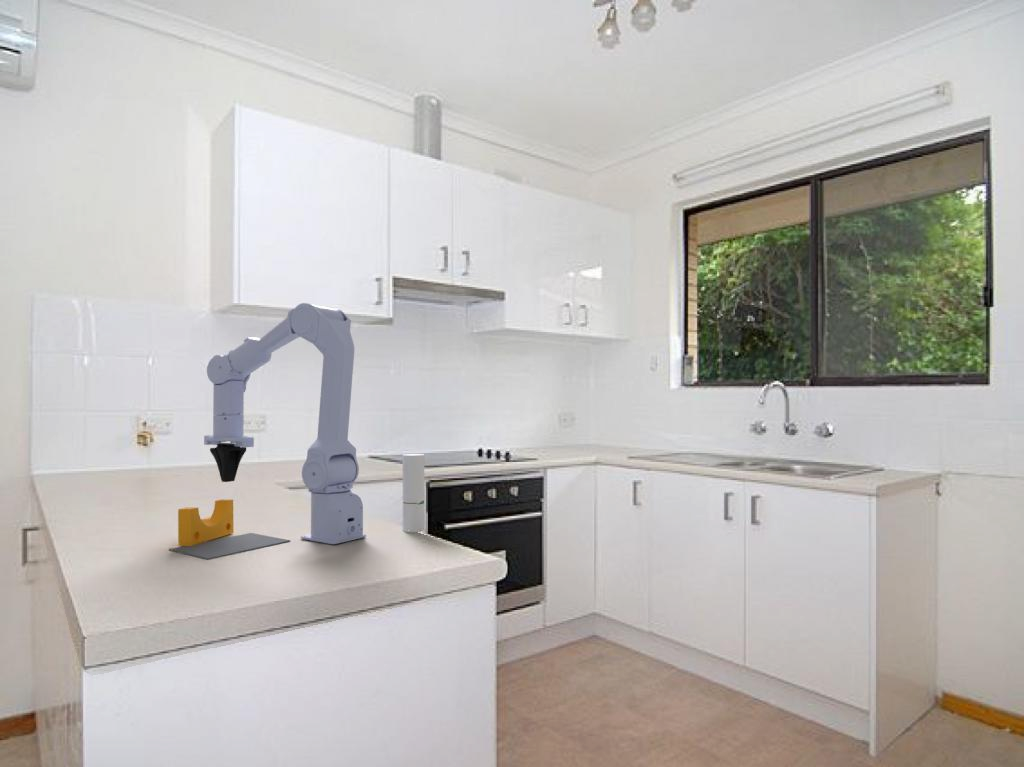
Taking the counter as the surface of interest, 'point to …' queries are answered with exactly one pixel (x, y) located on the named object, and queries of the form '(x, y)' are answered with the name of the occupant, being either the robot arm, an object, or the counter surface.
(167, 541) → the counter surface
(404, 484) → the tube
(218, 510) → the pipe clamp
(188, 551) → the mat
